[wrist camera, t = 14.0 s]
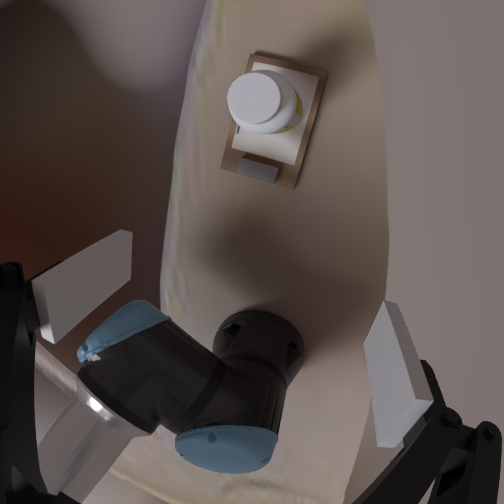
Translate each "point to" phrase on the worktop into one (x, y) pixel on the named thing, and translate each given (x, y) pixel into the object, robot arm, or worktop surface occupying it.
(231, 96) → the supplement bottle
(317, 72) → the clipboard
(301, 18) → the worktop surface
